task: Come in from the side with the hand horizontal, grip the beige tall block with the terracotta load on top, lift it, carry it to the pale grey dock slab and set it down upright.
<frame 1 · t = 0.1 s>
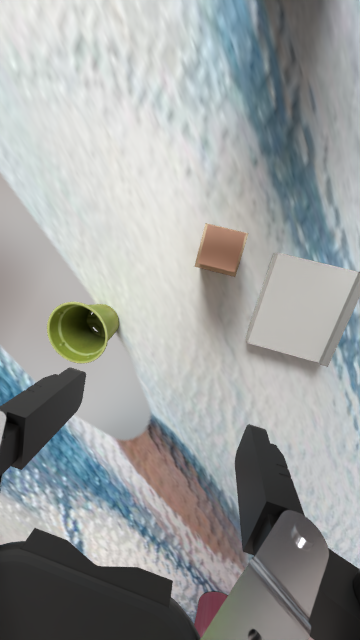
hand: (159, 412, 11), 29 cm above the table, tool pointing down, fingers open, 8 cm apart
dock: (295, 307, 37), on the table
beige tall block: (219, 254, 37), on the table
plant pot: (218, 603, 55), on the table
plant pot 2: (104, 319, 42), on the table
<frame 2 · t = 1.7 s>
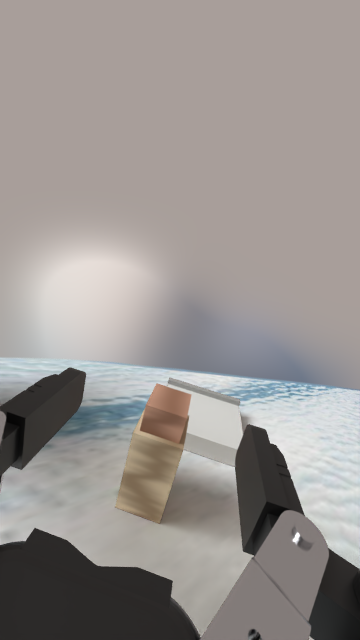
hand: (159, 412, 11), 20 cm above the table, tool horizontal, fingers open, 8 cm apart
dock: (196, 425, 40), on the table
beige tall block: (144, 493, 27), on the table
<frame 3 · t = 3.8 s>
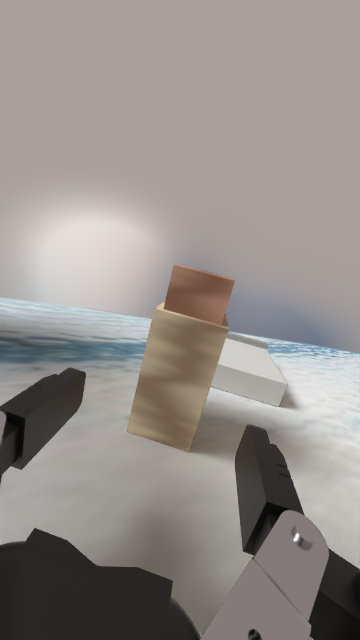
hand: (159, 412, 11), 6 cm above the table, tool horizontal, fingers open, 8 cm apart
dock: (218, 367, 33), on the table
beige tall block: (164, 420, 20), on the table
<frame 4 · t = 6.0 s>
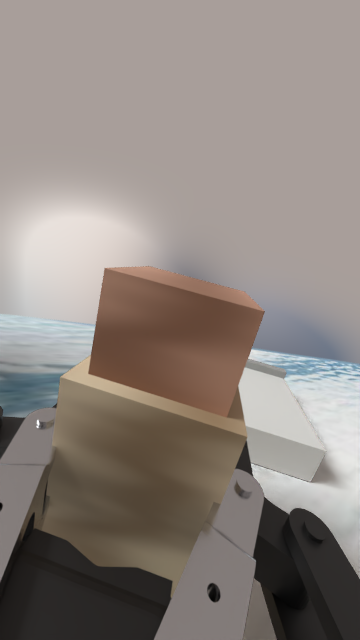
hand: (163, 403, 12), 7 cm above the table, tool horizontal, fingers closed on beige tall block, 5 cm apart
dock: (219, 407, 24), on the table
beige tall block: (120, 551, 11), on the table, touching gripper
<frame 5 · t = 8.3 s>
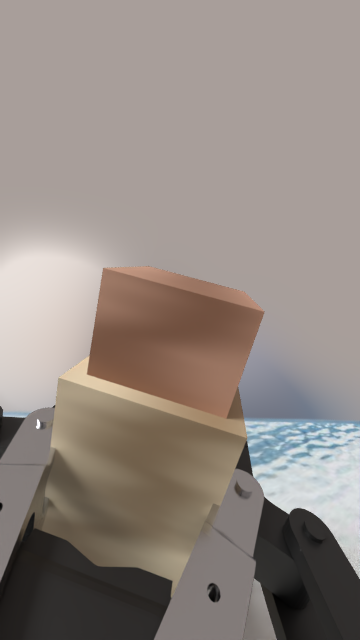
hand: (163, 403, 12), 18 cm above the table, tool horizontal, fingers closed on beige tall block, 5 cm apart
beige tall block: (120, 553, 11), point 11 cm above the table, touching gripper
when the fingers open (11 cm above the table, at t = 10.4 s): beige tall block drops 1 cm, resting on dock.
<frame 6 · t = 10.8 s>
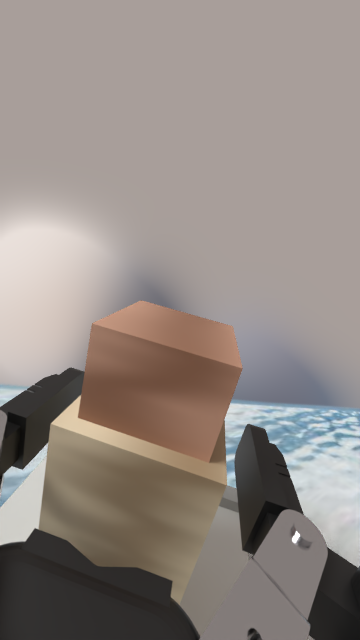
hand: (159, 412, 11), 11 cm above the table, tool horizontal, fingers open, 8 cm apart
dock: (105, 609, 12), on the table
beige tall block: (113, 573, 11), point 3 cm above the table, touching dock
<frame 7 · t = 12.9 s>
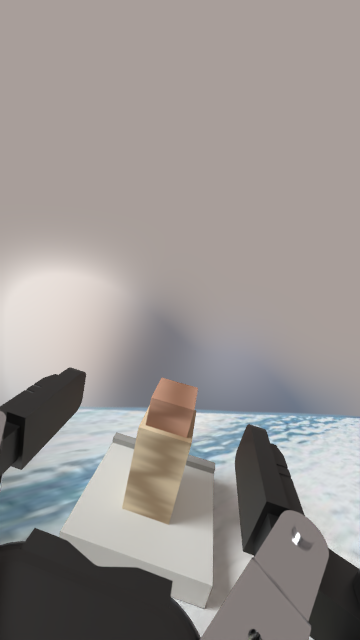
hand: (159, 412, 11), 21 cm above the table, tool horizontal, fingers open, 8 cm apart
dock: (147, 513, 27), on the table
beige tall block: (151, 493, 26), point 3 cm above the table, touching dock
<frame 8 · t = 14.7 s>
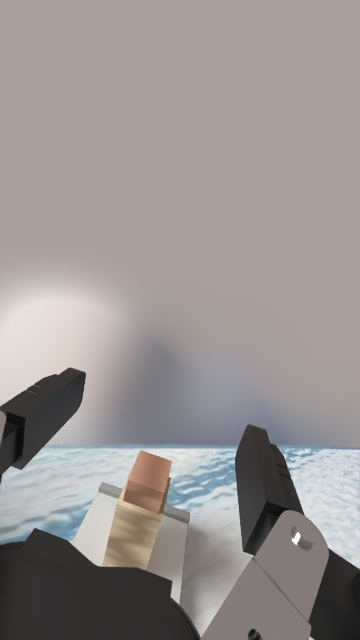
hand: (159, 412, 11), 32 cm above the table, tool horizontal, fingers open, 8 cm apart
dock: (125, 563, 30), on the table
beige tall block: (129, 548, 29), point 3 cm above the table, touching dock
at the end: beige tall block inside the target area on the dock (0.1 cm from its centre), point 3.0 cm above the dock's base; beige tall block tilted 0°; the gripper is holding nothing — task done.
